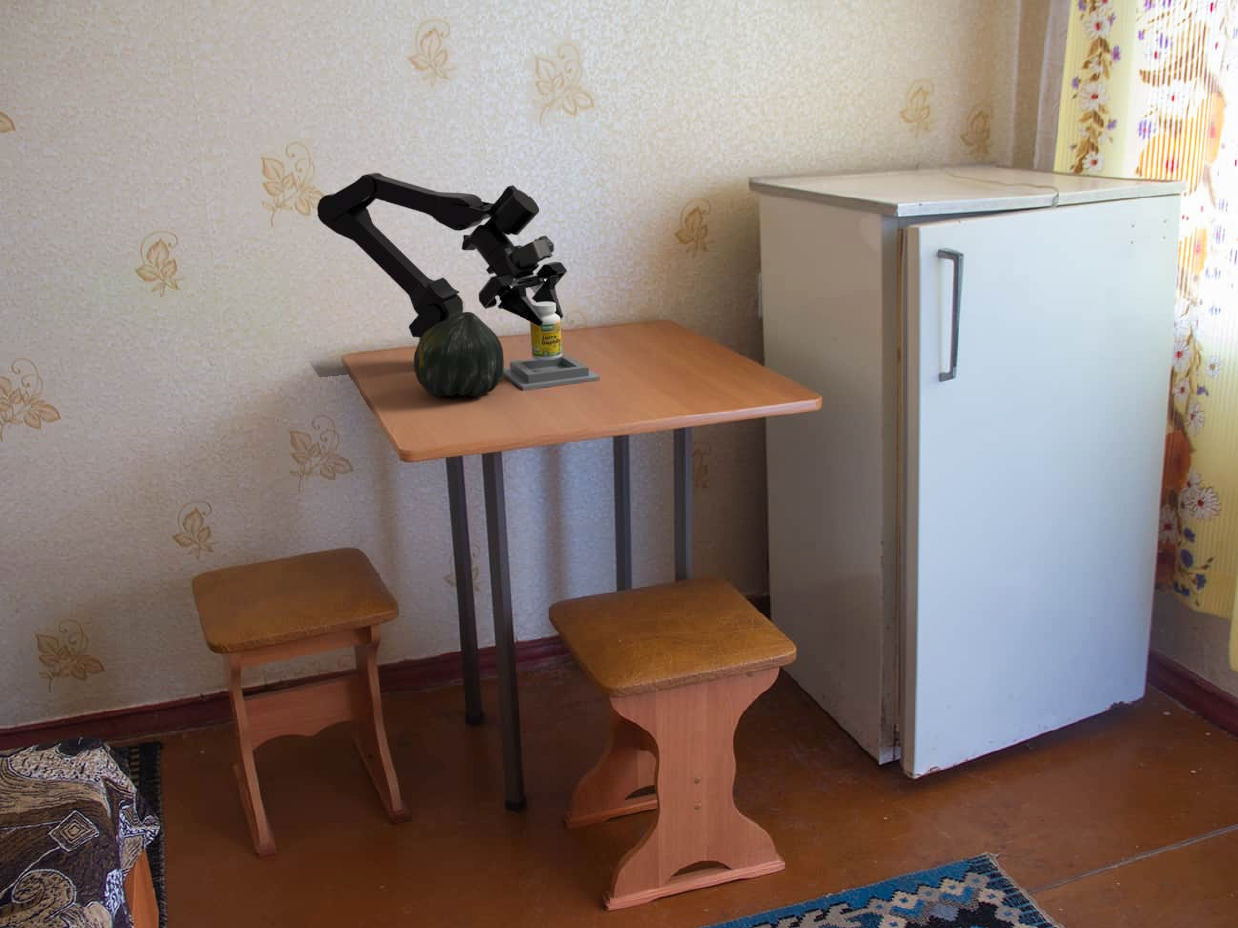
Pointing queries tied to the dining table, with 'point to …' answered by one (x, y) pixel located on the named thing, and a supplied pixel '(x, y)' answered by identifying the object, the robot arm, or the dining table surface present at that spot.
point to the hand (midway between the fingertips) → (551, 321)
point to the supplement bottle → (546, 333)
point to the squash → (459, 357)
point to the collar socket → (548, 372)
